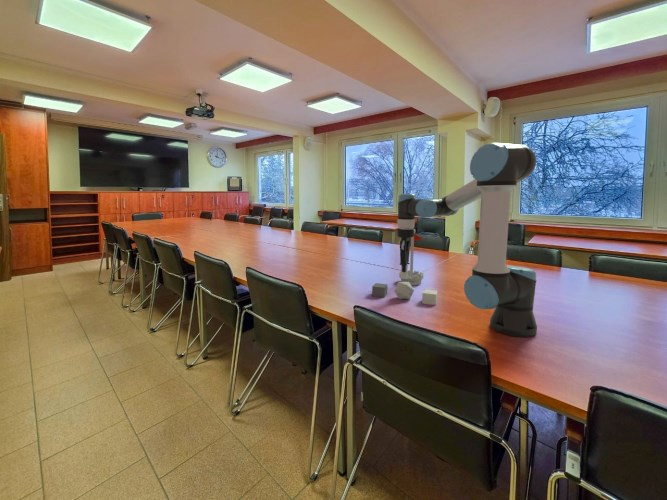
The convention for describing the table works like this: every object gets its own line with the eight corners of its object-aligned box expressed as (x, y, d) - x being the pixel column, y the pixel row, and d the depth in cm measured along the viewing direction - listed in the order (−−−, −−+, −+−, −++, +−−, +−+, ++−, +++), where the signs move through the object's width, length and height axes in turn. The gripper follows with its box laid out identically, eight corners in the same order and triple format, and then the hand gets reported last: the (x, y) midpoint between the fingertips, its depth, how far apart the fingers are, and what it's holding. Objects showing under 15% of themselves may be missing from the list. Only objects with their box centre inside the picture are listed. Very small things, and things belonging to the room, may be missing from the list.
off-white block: (435, 305, 148) (436, 294, 147) (422, 303, 150) (422, 293, 149) (437, 301, 154) (437, 290, 153) (423, 299, 156) (424, 289, 155)
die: (409, 303, 152) (419, 285, 153) (392, 294, 152) (402, 276, 154) (405, 304, 160) (414, 287, 161) (389, 295, 160) (399, 278, 162)
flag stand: (397, 284, 180) (399, 229, 175) (400, 278, 192) (401, 227, 187) (422, 286, 176) (424, 230, 171) (423, 280, 189) (425, 227, 183)
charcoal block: (384, 297, 159) (384, 287, 158) (372, 296, 162) (372, 286, 161) (387, 294, 165) (387, 284, 164) (375, 292, 167) (375, 283, 166)
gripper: (400, 226, 159) (399, 274, 163) (394, 229, 147) (392, 280, 152) (416, 227, 156) (414, 275, 160) (411, 230, 144) (409, 282, 149)
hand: (404, 278), depth 156 cm, fingers closed
